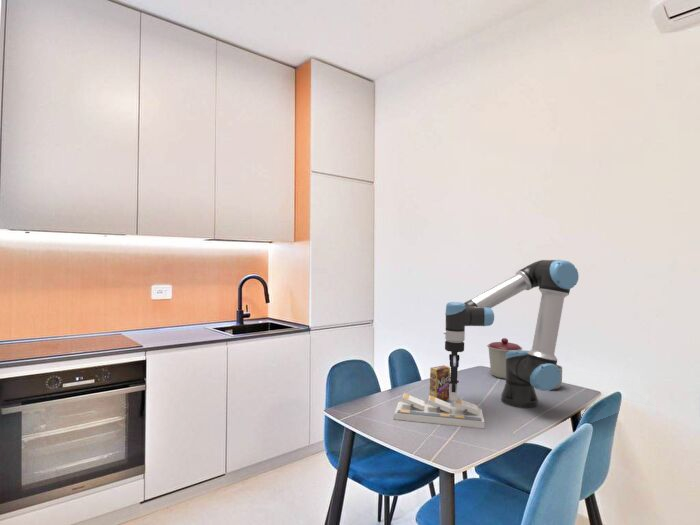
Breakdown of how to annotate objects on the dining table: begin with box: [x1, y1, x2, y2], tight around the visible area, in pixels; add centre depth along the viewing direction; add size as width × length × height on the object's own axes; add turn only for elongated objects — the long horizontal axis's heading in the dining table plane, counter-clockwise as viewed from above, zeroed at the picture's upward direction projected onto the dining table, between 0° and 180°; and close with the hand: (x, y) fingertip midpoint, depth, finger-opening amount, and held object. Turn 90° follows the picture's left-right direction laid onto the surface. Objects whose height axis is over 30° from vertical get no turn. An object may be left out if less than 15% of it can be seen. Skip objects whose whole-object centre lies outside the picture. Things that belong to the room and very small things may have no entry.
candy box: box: [428, 365, 451, 402], centre depth 185 cm, size 9×4×15 cm, turn 123°
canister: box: [486, 337, 523, 380], centre depth 226 cm, size 18×18×21 cm
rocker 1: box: [400, 392, 426, 410], centre depth 169 cm, size 9×7×2 cm
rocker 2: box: [427, 395, 452, 413], centre depth 166 cm, size 9×7×2 cm
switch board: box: [393, 401, 485, 429], centre depth 166 cm, size 34×14×4 cm, turn 77°
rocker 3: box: [453, 398, 479, 415], centre depth 164 cm, size 9×7×2 cm
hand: (453, 399), depth 165 cm, fingers closed
